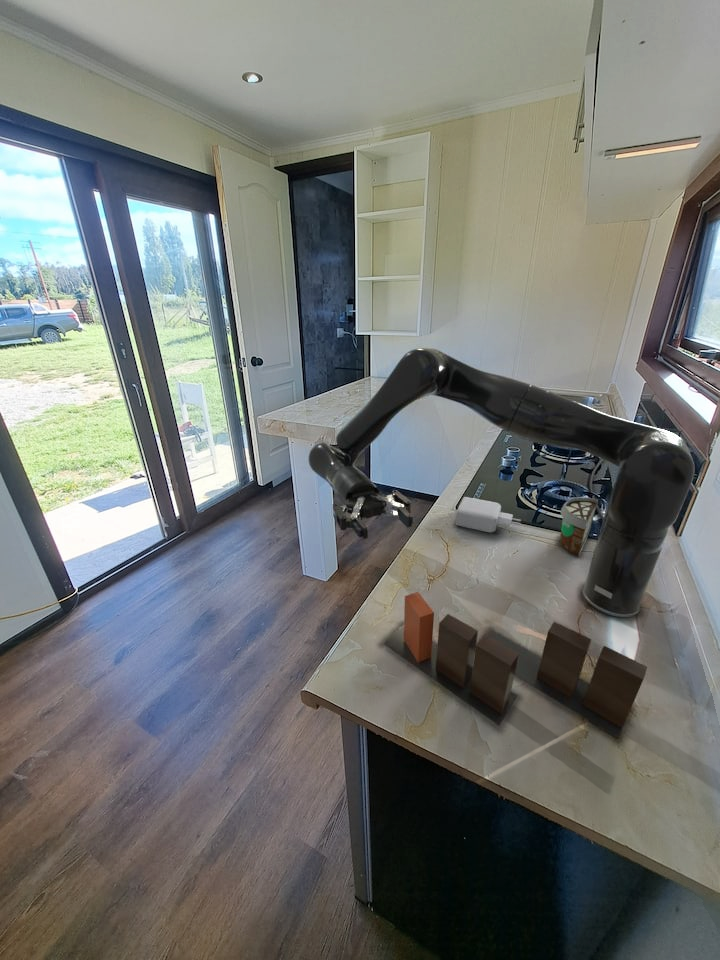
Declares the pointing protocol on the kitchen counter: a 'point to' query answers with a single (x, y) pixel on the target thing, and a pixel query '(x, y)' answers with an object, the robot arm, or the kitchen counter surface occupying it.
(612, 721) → the brown notched block
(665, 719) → the kitchen counter surface
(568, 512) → the food container
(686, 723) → the kitchen counter surface
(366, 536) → the robot arm
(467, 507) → the charger
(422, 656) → the orange upright brick
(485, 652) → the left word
